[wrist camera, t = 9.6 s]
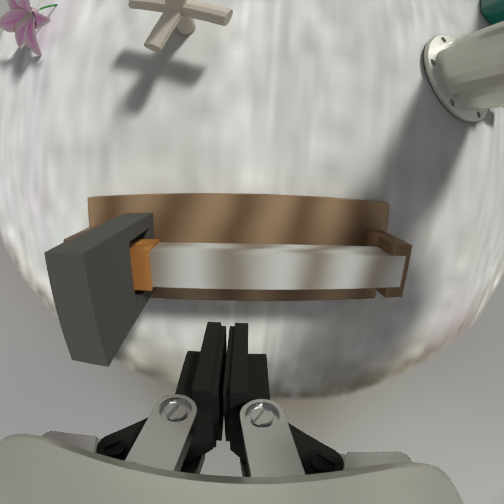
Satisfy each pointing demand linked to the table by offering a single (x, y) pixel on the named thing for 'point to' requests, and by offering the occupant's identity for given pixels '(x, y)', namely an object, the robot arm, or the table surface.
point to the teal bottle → (493, 10)
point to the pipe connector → (179, 18)
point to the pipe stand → (260, 246)
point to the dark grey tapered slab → (98, 286)
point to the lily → (24, 23)
